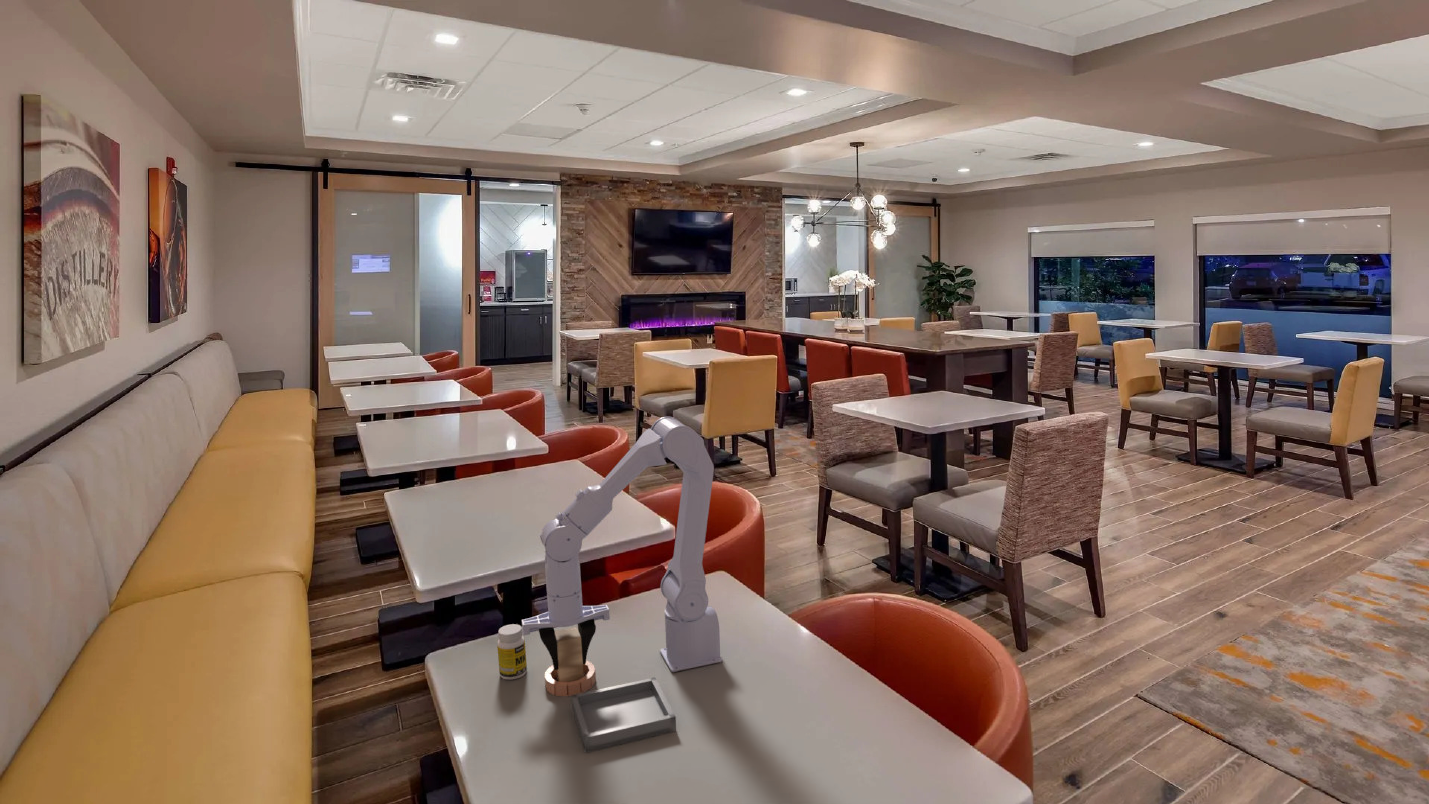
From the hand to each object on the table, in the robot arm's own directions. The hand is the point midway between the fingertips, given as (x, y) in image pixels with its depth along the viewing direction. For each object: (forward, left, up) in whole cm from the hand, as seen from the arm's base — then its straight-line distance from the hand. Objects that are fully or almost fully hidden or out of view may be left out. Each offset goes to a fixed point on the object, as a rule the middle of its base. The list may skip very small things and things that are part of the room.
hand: (569, 664), depth 128 cm
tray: (-6, +14, -3) cm, 16 cm away
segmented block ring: (0, 0, -3) cm, 3 cm away
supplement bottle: (+9, -7, -4) cm, 12 cm away
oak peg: (0, 0, -3) cm, 3 cm away
